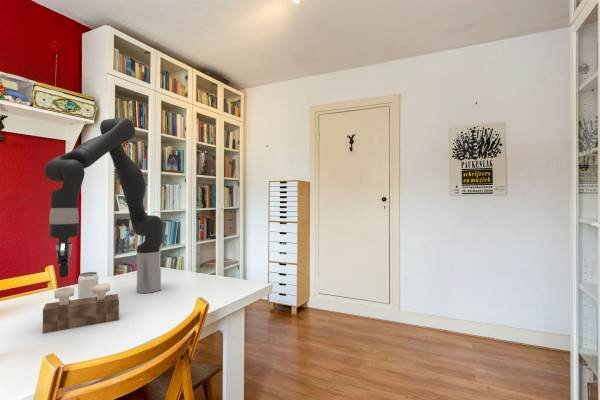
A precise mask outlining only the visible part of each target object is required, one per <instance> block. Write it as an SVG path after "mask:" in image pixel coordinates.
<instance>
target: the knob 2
mask: <svg viewBox="0 0 600 400" xmlns="http://www.w3.org/2000/svg"><path fill="white" fill-rule="evenodd" d="M110 291H111V283H108V282H107V283H106V282H105V283H104V282H103V283H98V284H96V285H93V286H92V293H97V300H104V299H106V295H107V294H106V293H107V292H110Z"/></svg>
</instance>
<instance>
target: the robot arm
mask: <svg viewBox="0 0 600 400" xmlns="http://www.w3.org/2000/svg"><path fill="white" fill-rule="evenodd" d="M99 129H100V135H98V136H96V137H93V138H90V139H88V140H86V141H84V142H82V143H81V144H79V145H77V146H76V147H75V148H74V149H73V150H71V151H69V152H66V153H64V154H61V155H59V156H56V157H54V158H52V159H51V160H49V161H48V162H47V163H46V165H45V167H44V175H45V177H46V178H47V179H48V180H50V181H51V182H55V183H56V182H57V183H59V182H61V183H62V184H61V187H60V188H57V189H53V190H52V191H51V192H50V212H49V226H48V227H49V233H48V235H49V238H51V239H58V242H57V243H56V244H55V250H56V258H57V264H58V266H59V273H58V274H59V275H58V276H59V278H67V277H68V276H69V264H70V260H71V256H72V248H73V241H71V242H70V238H77V237H78V236H79V233H80V232H79V230H80V229H79V227H80V222H79V221H80V215H79V214H80V213H79V194H80V191H81V188H82V185H83V182H84V179H85V169H87V168H89V167H91V166H92V165H93V164H95V163H96V162H97V161H98V160H99V159H100V158H102V157H103V156H105V155H106V154H108V153H109V155H110V157H111V160H112V163H113V166H114V168H115V170H116V174H117V177H118V181H119V184H120V186H121V190H122V192H123V195H124V198H125V202H126V205H127V209H128V213H129V219H130V222H131V228H132V230H133V232H134V234H135V235H137V236H141V237H144V241H143V242H142V243H141V244H138V245H137V246H136V292H137V293H139V294H150V293H154V292H157V291H161V290H162V287H161V286H162V285H161V284H162V281H161V280H162V276H161V275H162V269H161V267H160V266H161V246H162V243H163V222H162V219H161V217H159V216H158V215H150V214H149V215H147V212H146V211H145V207H144V198H145V195H146V194H145V193H146V190H147V188H146V187H147V186H146V180H145V178H144V175H143V172H142V169H141V168H140V166H138V164H137V163H136V162H134V160H133V159H131V158H130V156H129V155H128V153H126V151H125V149H124V147H123V144H124V143H126V142H128V141H131V140H133V139H134V136H135V135H136V127H135V125H134V123H133V121H131V119H129V118H126V117H113V118H108V119H107V118H106V119H104V120H102V121H101V123H100V125H99Z"/></svg>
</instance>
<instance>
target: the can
mask: <svg viewBox="0 0 600 400" xmlns="http://www.w3.org/2000/svg"><path fill="white" fill-rule="evenodd" d="M96 284H99V275H98V272H97V271H88V272H82V273H80V274H79V276H78V280H77V299H83V298H90V297H97V293H92V286H93V285H96Z"/></svg>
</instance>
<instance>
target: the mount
mask: <svg viewBox="0 0 600 400" xmlns="http://www.w3.org/2000/svg"><path fill="white" fill-rule="evenodd" d="M119 320H120V299H119V293H114V294H106V299H104V300H97V297H90V298H83V299H78V298H77V299H69V304H68V305H61V306H59V301H55V302H46V303H45V304H44V307H43V308H42V334H45V333H52V332H58V331H62V330H68V329H74V328H81V327H85V326H92V325H96V324H103V323H108V322H114V321H115V322H116V321H119Z"/></svg>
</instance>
